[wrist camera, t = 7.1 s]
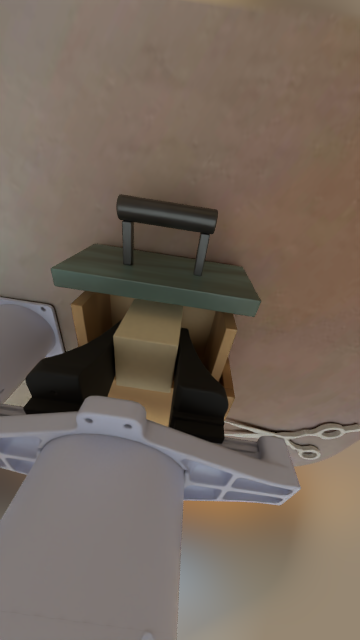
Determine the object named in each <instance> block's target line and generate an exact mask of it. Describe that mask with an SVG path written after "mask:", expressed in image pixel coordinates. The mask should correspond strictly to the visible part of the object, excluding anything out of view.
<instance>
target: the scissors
mask: <svg viewBox="0 0 360 640" xmlns="http://www.w3.org/2000/svg"><path fill="white" fill-rule="evenodd" d="M224 422H226V423H229V424H232V425H234V426H237V427H240V428H243V429H246V430H249V431H252V432H255V433H258V434H224V435H227V436H237V437H249V438H260V437H261V436H273V437H280V438H283V439H284V440H285V443H286V445H289V446H291V448H292V449H295V450H297V452H298V454H299V456H300V457H301V458H303V459H316V458H319V457H320V456H321V455H320V452H319V450H318V449H317V448H316V447H314V446H311V445H310V446H300V445H295V444H294V443H292V442H291V441H290V440H289V439H294V438H298V437H303V436H319V437H321V438H322V439H333V438H337V437H340V436H342V435H343V434H344V433H348V432H353V431H360V426H359V425H358V424H356V425H351V426H344V427H342V425H339V424H332V423H329V424H325V425H321V426H319V427H317V428H315V429H312V430H302V431H299V432H295V433H291V432H280V433H274V432H268V431H265V430H261V429H257V428H253V427H249V426H245V425H240V424H236V423H232V422H228V421H224ZM327 430H337V431H335V432H332V433H324V431H327ZM303 452H314V453H313V454H303Z"/></svg>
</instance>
